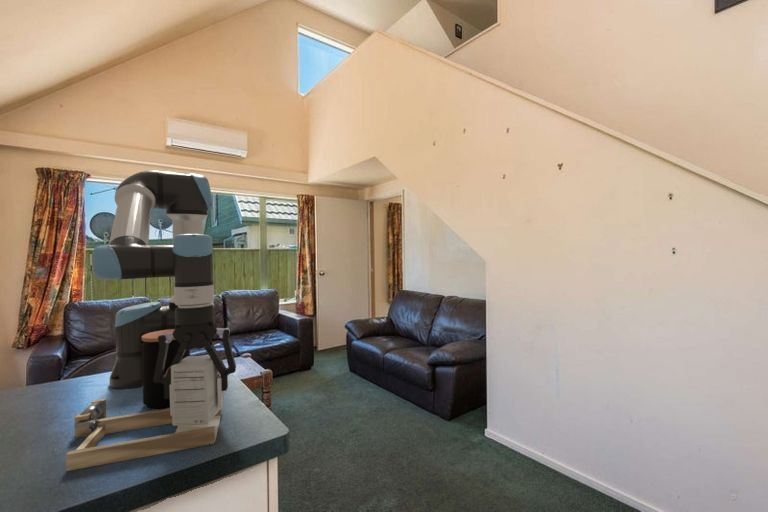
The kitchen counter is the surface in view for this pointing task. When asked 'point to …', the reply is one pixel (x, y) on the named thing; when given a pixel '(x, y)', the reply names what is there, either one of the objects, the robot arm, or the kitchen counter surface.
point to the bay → (137, 448)
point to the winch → (90, 418)
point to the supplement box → (194, 391)
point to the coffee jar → (150, 349)
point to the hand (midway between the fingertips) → (197, 408)
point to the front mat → (212, 423)
